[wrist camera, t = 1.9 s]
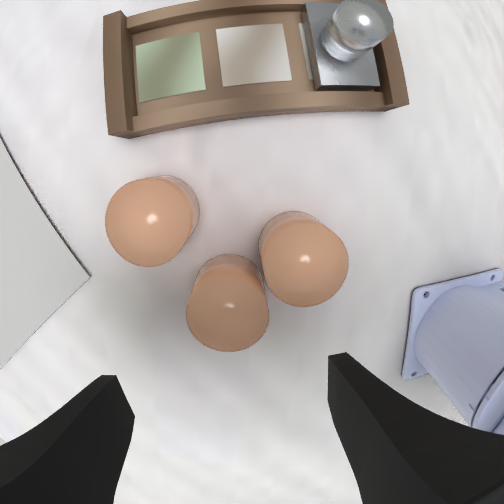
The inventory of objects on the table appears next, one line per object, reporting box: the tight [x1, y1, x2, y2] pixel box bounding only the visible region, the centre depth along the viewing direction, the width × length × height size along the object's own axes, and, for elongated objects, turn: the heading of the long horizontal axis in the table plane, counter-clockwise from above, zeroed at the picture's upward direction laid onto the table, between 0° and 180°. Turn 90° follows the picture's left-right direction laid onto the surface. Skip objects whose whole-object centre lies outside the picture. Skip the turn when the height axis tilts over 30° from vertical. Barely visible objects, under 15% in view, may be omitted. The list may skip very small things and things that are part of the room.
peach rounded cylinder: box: [186, 254, 269, 352], centre depth 17 cm, size 4×4×4 cm
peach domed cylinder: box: [105, 176, 199, 267], centre depth 15 cm, size 4×4×4 cm
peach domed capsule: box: [259, 211, 348, 307], centre depth 16 cm, size 4×4×4 cm
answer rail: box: [103, 0, 409, 139], centre depth 13 cm, size 15×7×3 cm, turn 97°
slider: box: [301, 0, 394, 90], centre depth 11 cm, size 3×5×5 cm, turn 7°
